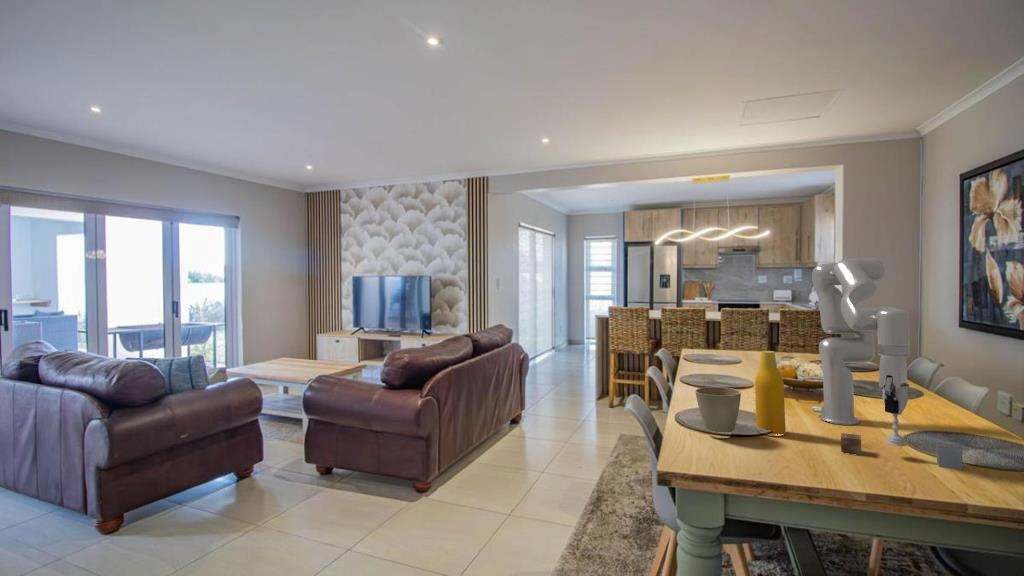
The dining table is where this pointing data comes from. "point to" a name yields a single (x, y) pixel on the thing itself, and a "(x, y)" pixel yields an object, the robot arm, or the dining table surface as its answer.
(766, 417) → the beer bottle
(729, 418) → the plant pot
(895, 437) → the chalice
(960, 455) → the slate block
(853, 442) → the walnut block
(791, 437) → the dining table surface
